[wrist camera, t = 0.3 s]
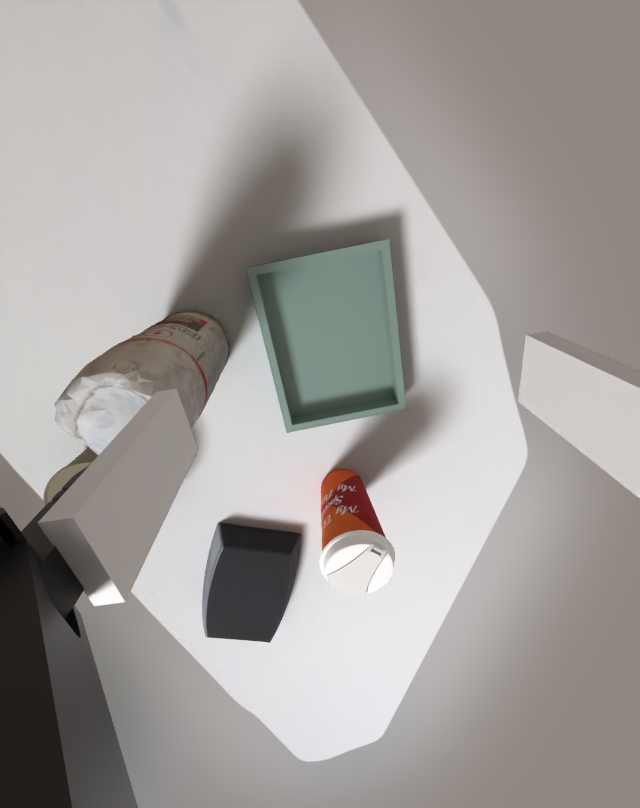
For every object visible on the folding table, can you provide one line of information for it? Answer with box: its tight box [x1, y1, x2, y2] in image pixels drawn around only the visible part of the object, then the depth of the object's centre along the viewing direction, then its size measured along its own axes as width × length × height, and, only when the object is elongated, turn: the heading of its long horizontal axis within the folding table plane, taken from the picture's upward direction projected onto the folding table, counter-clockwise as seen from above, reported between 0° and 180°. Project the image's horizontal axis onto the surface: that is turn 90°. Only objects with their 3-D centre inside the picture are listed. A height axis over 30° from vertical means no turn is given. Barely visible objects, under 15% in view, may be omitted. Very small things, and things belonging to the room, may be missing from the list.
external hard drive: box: [202, 523, 301, 643], centre depth 51 cm, size 13×19×4 cm
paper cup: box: [320, 469, 395, 595], centre depth 41 cm, size 8×8×14 cm
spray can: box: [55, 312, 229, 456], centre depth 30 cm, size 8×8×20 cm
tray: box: [246, 239, 406, 433], centre depth 38 cm, size 18×14×3 cm
